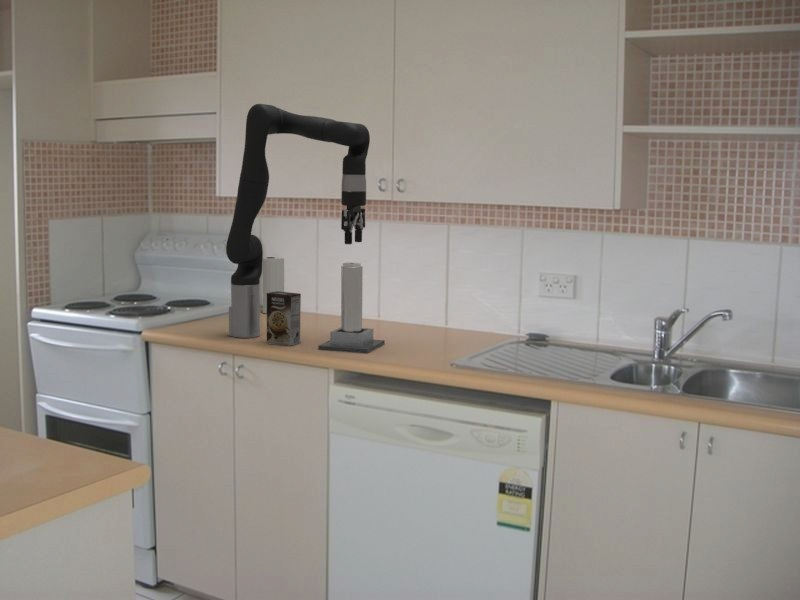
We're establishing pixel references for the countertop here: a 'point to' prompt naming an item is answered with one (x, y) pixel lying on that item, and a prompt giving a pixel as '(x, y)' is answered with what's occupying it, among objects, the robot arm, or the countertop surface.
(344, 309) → the silver metal cylinder
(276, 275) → the paper towel roll
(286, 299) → the coffee box
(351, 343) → the board
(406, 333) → the countertop surface
